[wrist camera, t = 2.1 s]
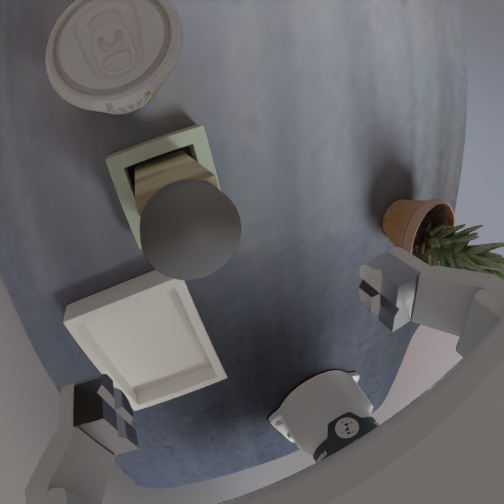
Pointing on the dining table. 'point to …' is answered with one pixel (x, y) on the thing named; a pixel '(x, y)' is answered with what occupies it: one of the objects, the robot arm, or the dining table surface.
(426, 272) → the robot arm
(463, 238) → the potted plant
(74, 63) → the orange pill bottle
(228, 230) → the wooden pepper mill
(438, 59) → the dining table surface
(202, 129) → the socket block
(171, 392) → the tray
